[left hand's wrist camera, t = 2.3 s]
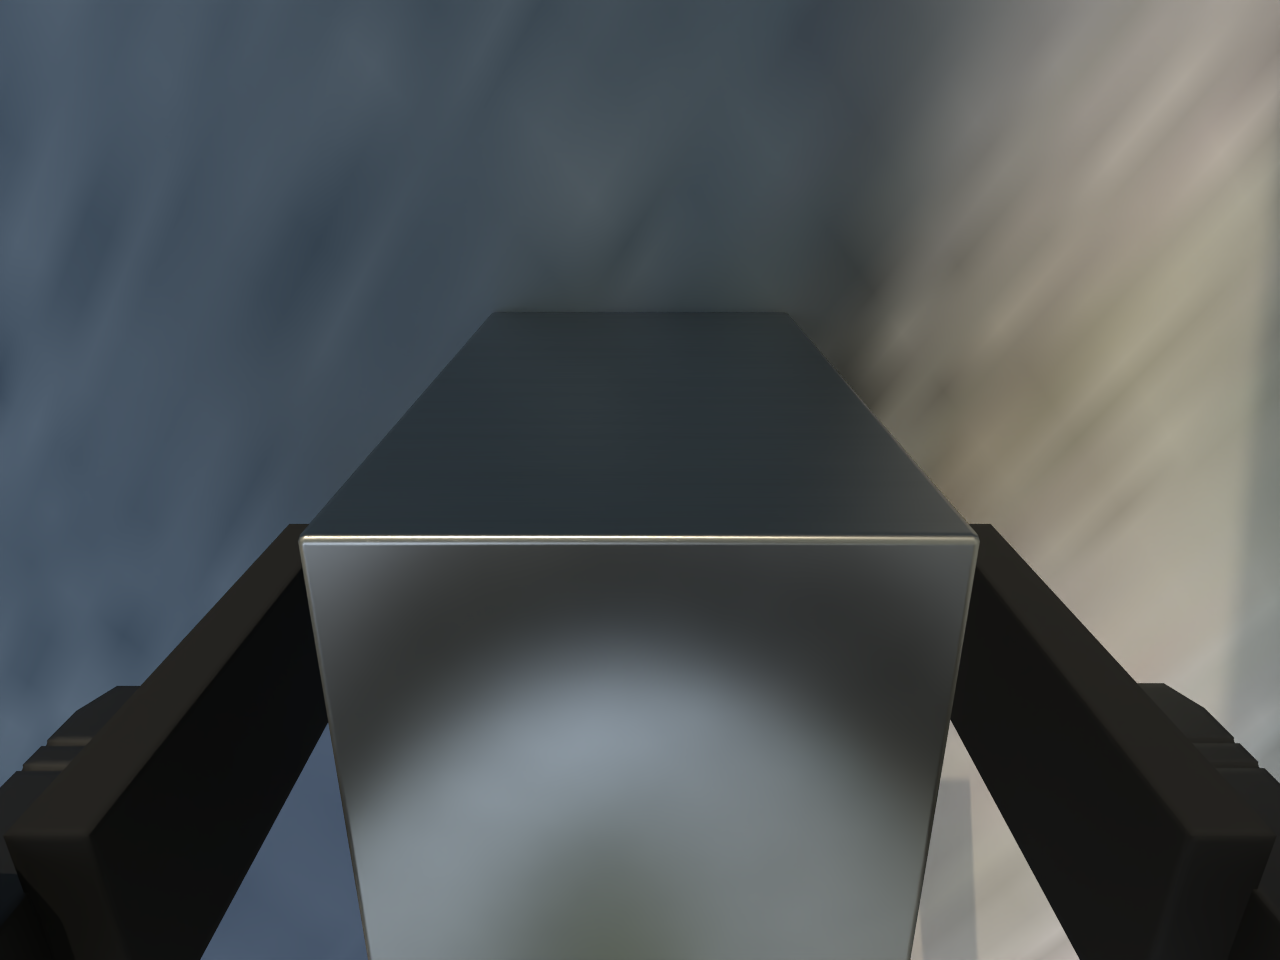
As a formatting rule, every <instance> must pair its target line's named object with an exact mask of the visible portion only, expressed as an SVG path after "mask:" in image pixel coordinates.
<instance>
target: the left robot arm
mask: <svg viewBox="0 0 1280 960" xmlns="http://www.w3.org/2000/svg"><path fill="white" fill-rule="evenodd" d="M308 525H309V524H289V525H288V526H287V527H286V528H285V529H284V531H283V532H282V533H281V534H280V535H279V536H278V537H277V538H276V539H275V540H274V541H273V543H272V544H271V545H270V546H269V547H268V548H267V549H266V550H265V551H264V552H263V553H262V554H261V556H260V557H259V558H258V559H257V560H256V561H255V562H254V563H253V564H252V565H251V566H250V568H249V569H248V570H247V571H246V572H245V573H244V574H243V575H242V576H241V577H240V578H239V579H238V581H237V582H236V583H235V584H234V585H233V586H232V587H231V588H230V589H229V590H228V591H227V593H226V594H225V595H224V596H223V597H222V598H221V599H220V600H219V601H218V602H217V603H216V604H215V606H214V607H213V608H212V609H211V610H210V611H209V612H208V613H207V614H206V615H205V616H204V618H203V619H202V620H201V621H200V622H199V623H198V624H197V625H196V626H195V627H194V628H193V629H192V631H191V632H190V633H189V634H188V635H187V636H186V637H185V638H184V639H183V640H182V641H181V643H180V644H179V645H178V646H177V647H176V648H175V649H174V650H173V651H172V652H171V653H170V654H169V656H168V657H167V658H166V659H165V660H164V661H163V662H162V663H161V664H160V665H159V666H158V668H157V669H156V670H155V671H154V672H153V673H152V674H151V675H150V676H149V677H148V678H147V679H146V681H145V682H144V683H143V684H142V685H141V686H116V687H115V688H113V689H111V690H110V691H108V692H107V693H105V694H103V695H102V696H100V697H98V698H97V699H95V700H93V701H92V702H90V703H89V704H87V705H85V706H84V707H82V708H80V709H79V710H77V711H76V712H75V713H74V714H73V715H72V716H71V717H70V718H69V719H68V720H67V721H66V722H65V723H64V724H63V725H62V726H61V727H60V728H59V729H58V730H57V731H56V732H55V733H54V734H53V735H52V736H51V737H50V738H49V739H48V740H47V745H46V746H41V747H40V748H39V749H38V750H37V751H36V752H35V753H34V754H33V755H32V756H31V757H30V758H29V759H28V760H27V761H26V762H25V763H24V764H23V769H22V771H16V772H15V773H14V774H13V775H12V776H11V777H10V778H9V779H8V780H7V781H6V782H5V783H4V784H3V785H2V786H1V787H0V960H200V959H201V957H202V955H203V953H204V952H205V950H206V948H207V946H208V944H209V942H210V940H211V939H212V937H213V935H214V933H215V931H216V929H217V927H218V926H219V924H220V922H221V920H222V918H223V916H224V914H225V913H226V911H227V909H228V907H229V905H230V903H231V901H232V900H233V898H234V896H235V894H236V892H237V890H238V888H239V887H240V885H241V883H242V881H243V879H244V877H245V875H246V874H247V872H248V870H249V868H250V866H251V864H252V862H253V861H254V859H255V857H256V855H257V853H258V851H259V849H260V848H261V846H262V844H263V842H264V840H265V838H266V836H267V835H268V833H269V831H270V829H271V827H272V825H273V823H274V822H275V820H276V818H277V816H278V814H279V812H280V810H281V809H282V807H283V805H284V803H285V801H286V799H287V797H288V796H289V794H290V792H291V790H292V788H293V786H294V784H295V783H296V781H297V779H298V777H299V775H300V773H301V771H302V770H303V768H304V766H305V764H306V762H307V760H308V758H309V757H310V755H311V753H312V751H313V749H314V747H315V746H316V744H317V742H318V740H319V738H320V736H321V734H322V733H323V731H324V729H325V727H326V725H327V723H328V717H327V711H326V705H325V699H324V693H323V687H322V681H321V675H320V669H319V663H318V657H317V651H316V645H315V639H314V633H313V627H312V621H311V616H310V610H309V604H308V598H307V592H306V586H305V580H304V574H303V568H302V562H301V556H300V550H299V544H298V540H299V537H300V534H301V533H302V532H303V531H304V530H305V529H306V527H307V526H308ZM969 525H970V526H971V528H972V529H973V530H974V531H975V532H976V533H977V534H978V537H979V541H980V543H979V550H978V556H977V562H976V568H975V574H974V580H973V586H972V592H971V598H970V604H969V610H968V616H967V622H966V628H965V634H964V640H963V646H962V652H961V658H960V664H959V670H958V676H957V682H956V688H955V694H954V700H953V706H952V712H951V718H950V719H951V721H952V723H953V725H954V727H955V729H956V731H957V732H958V734H959V736H960V738H961V740H962V742H963V744H964V745H965V747H966V749H967V751H968V753H969V755H970V757H971V758H972V760H973V762H974V764H975V766H976V768H977V770H978V771H979V773H980V775H981V777H982V779H983V781H984V783H985V784H986V786H987V788H988V790H989V792H990V794H991V796H992V797H993V799H994V801H995V803H996V805H997V807H998V809H999V810H1000V812H1001V814H1002V816H1003V818H1004V820H1005V822H1006V823H1007V825H1008V827H1009V829H1010V831H1011V833H1012V835H1013V836H1014V838H1015V840H1016V842H1017V844H1018V846H1019V848H1020V849H1021V851H1022V853H1023V855H1024V857H1025V859H1026V861H1027V862H1028V864H1029V866H1030V868H1031V870H1032V872H1033V874H1034V875H1035V877H1036V879H1037V881H1038V883H1039V885H1040V887H1041V888H1042V890H1043V892H1044V894H1045V896H1046V898H1047V900H1048V901H1049V903H1050V905H1051V907H1052V909H1053V911H1054V913H1055V914H1056V916H1057V918H1058V920H1059V922H1060V924H1061V926H1062V927H1063V929H1064V931H1065V933H1066V935H1067V937H1068V939H1069V940H1070V942H1071V944H1072V946H1073V948H1074V950H1075V952H1076V953H1077V955H1078V957H1079V959H1080V960H1280V783H1279V782H1278V781H1277V780H1276V779H1275V778H1274V777H1273V776H1272V775H1271V774H1270V773H1269V772H1268V771H1267V770H1266V769H1265V768H1259V766H1258V761H1257V760H1256V759H1255V758H1254V757H1253V756H1252V755H1251V754H1250V753H1249V752H1248V751H1247V750H1246V749H1245V748H1244V747H1243V746H1242V745H1241V744H1240V743H1235V742H1234V737H1233V736H1232V735H1231V734H1230V733H1229V732H1228V731H1227V730H1226V729H1225V728H1224V727H1223V726H1222V725H1221V724H1220V723H1219V722H1218V721H1217V720H1216V719H1215V718H1214V717H1213V716H1212V715H1211V714H1210V713H1209V712H1208V711H1207V710H1206V709H1205V708H1203V707H1202V706H1200V705H1198V704H1197V703H1195V702H1193V701H1192V700H1190V699H1189V698H1187V697H1185V696H1184V695H1182V694H1180V693H1179V692H1177V691H1175V690H1174V689H1172V688H1170V687H1169V686H1167V685H1166V684H1164V683H1136V682H1135V681H1134V679H1133V678H1132V677H1131V676H1130V675H1129V674H1128V673H1127V672H1126V671H1125V670H1124V669H1123V668H1122V666H1121V665H1120V664H1119V663H1118V662H1117V661H1116V660H1115V659H1114V658H1113V657H1112V656H1111V654H1110V653H1109V652H1108V651H1107V650H1106V649H1105V648H1104V647H1103V646H1102V645H1101V644H1100V643H1099V641H1098V640H1097V639H1096V638H1095V637H1094V636H1093V635H1092V634H1091V633H1090V632H1089V631H1088V629H1087V628H1086V627H1085V626H1084V625H1083V624H1082V623H1081V622H1080V621H1079V620H1078V619H1077V618H1076V616H1075V615H1074V614H1073V613H1072V612H1071V611H1070V610H1069V609H1068V608H1067V607H1066V606H1065V604H1064V603H1063V602H1062V601H1061V600H1060V599H1059V598H1058V597H1057V596H1056V595H1055V594H1054V592H1053V591H1052V590H1051V589H1050V588H1049V587H1048V586H1047V585H1046V584H1045V583H1044V582H1043V581H1042V579H1041V578H1040V577H1039V576H1038V575H1037V574H1036V573H1035V572H1034V571H1033V570H1032V569H1031V567H1030V566H1029V565H1028V564H1027V563H1026V562H1025V561H1024V560H1023V559H1022V558H1021V557H1020V556H1019V554H1018V553H1017V552H1016V551H1015V550H1014V549H1013V548H1012V547H1011V546H1010V545H1009V544H1008V542H1007V541H1006V540H1005V539H1004V538H1003V537H1002V536H1001V535H1000V534H999V533H998V532H997V531H996V529H995V528H994V527H993V526H992V525H991V524H969Z"/></svg>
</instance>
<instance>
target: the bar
mask: <svg viewBox="0 0 1280 960" xmlns="http://www.w3.org/2000/svg"><path fill="white" fill-rule="evenodd" d="M979 543H980V541H979V537H978V534H977V533H976V532H975V531H974V530H973V529H972V528H971V526H970V525H969V524H968V523H967V522H966V521H965V519H964V518H963V517H962V516H961V515H960V514H959V512H958V511H957V510H956V509H955V508H954V507H953V505H952V504H951V503H950V502H949V501H948V500H947V498H946V497H945V496H944V495H943V494H942V493H941V492H940V490H939V489H938V488H937V487H936V486H935V485H934V483H933V482H932V481H931V480H930V479H929V478H928V476H927V475H926V474H925V473H924V472H923V471H922V469H921V468H920V467H919V466H918V465H917V464H916V462H915V461H914V460H913V459H912V458H911V457H910V456H909V454H908V453H907V452H906V451H905V450H904V449H903V447H902V446H901V445H900V444H899V443H898V442H897V440H896V439H895V438H894V437H893V436H892V435H891V433H890V432H889V431H888V430H887V429H886V428H885V426H884V425H883V424H882V423H881V422H880V421H879V419H878V418H877V417H876V416H875V415H874V414H873V413H872V411H871V410H870V409H869V408H868V407H867V406H866V404H865V403H864V402H863V401H862V400H861V399H860V397H859V396H858V395H857V394H856V393H855V392H854V390H853V389H852V388H851V387H850V386H849V385H848V383H847V382H846V381H845V380H844V379H843V378H842V377H841V375H840V374H839V373H838V372H837V371H836V370H835V368H834V367H833V366H832V365H831V364H830V363H829V361H828V360H827V359H826V358H825V357H824V356H823V354H822V353H821V352H820V351H819V350H818V349H817V347H816V346H815V345H814V344H813V343H812V342H811V341H810V339H809V338H808V337H807V336H806V335H805V334H804V332H803V331H802V330H801V329H800V328H799V327H798V325H797V324H796V323H795V322H794V321H793V320H792V318H791V317H790V316H789V315H788V314H787V313H493V314H491V315H490V316H489V318H488V319H487V320H486V321H485V322H484V323H483V324H482V326H481V327H480V328H479V329H478V330H477V331H476V333H475V334H474V335H473V336H472V337H471V338H470V339H469V341H468V342H467V343H466V344H465V345H464V346H463V348H462V349H461V350H460V351H459V352H458V353H457V354H456V356H455V357H454V358H453V359H452V360H451V361H450V363H449V364H448V365H447V366H446V367H445V368H444V369H443V371H442V372H441V373H440V374H439V375H438V376H437V378H436V379H435V380H434V381H433V382H432V383H431V384H430V386H429V387H428V388H427V389H426V390H425V391H424V392H423V394H422V395H421V396H420V397H419V398H418V399H417V401H416V402H415V403H414V404H413V405H412V406H411V407H410V409H409V410H408V411H407V412H406V413H405V414H404V416H403V417H402V418H401V419H400V420H399V421H398V422H397V424H396V425H395V426H394V427H393V428H392V429H391V431H390V432H389V433H388V434H387V435H386V436H385V437H384V439H383V440H382V441H381V442H380V443H379V444H378V446H377V447H376V448H375V449H374V450H373V451H372V452H371V454H370V455H369V456H368V457H367V458H366V459H365V461H364V462H363V463H362V464H361V465H360V466H359V467H358V469H357V470H356V471H355V472H354V473H353V474H352V476H351V477H350V478H349V479H348V480H347V481H346V482H345V484H344V485H343V486H342V487H341V488H340V489H339V491H338V492H337V493H336V494H335V495H334V496H333V497H332V499H331V500H330V501H329V502H328V503H327V504H326V506H325V507H324V508H323V509H322V510H321V511H320V512H319V514H318V515H317V516H316V517H315V518H314V519H313V521H312V522H311V523H310V524H309V525H308V526H307V527H306V529H305V530H304V531H303V532H302V533H301V534H300V537H299V540H298V544H299V550H300V556H301V562H302V568H303V574H304V580H305V586H306V592H307V598H308V604H309V610H310V616H311V621H312V627H313V633H314V639H315V645H316V651H317V657H318V663H319V669H320V675H321V681H322V687H323V693H324V699H325V705H326V711H327V717H328V723H329V729H330V735H331V741H332V747H333V753H334V759H335V765H336V771H337V776H338V782H339V788H340V794H341V800H342V806H343V812H344V818H345V824H346V830H347V836H348V842H349V848H350V854H351V860H352V866H353V872H354V878H355V884H356V890H357V896H358V902H359V908H360V914H361V920H362V926H363V931H364V937H365V943H366V949H367V955H368V960H910V958H911V952H912V946H913V940H914V934H915V928H916V922H917V916H918V910H919V904H920V898H921V892H922V886H923V880H924V874H925V868H926V862H927V856H928V850H929V844H930V838H931V832H932V826H933V820H934V814H935V808H936V802H937V796H938V790H939V784H940V778H941V772H942V766H943V760H944V754H945V748H946V742H947V736H948V730H949V724H950V718H951V712H952V706H953V700H954V694H955V688H956V682H957V676H958V670H959V664H960V658H961V652H962V646H963V640H964V634H965V628H966V622H967V616H968V610H969V604H970V598H971V592H972V586H973V580H974V574H975V568H976V562H977V556H978V550H979Z"/></svg>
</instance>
